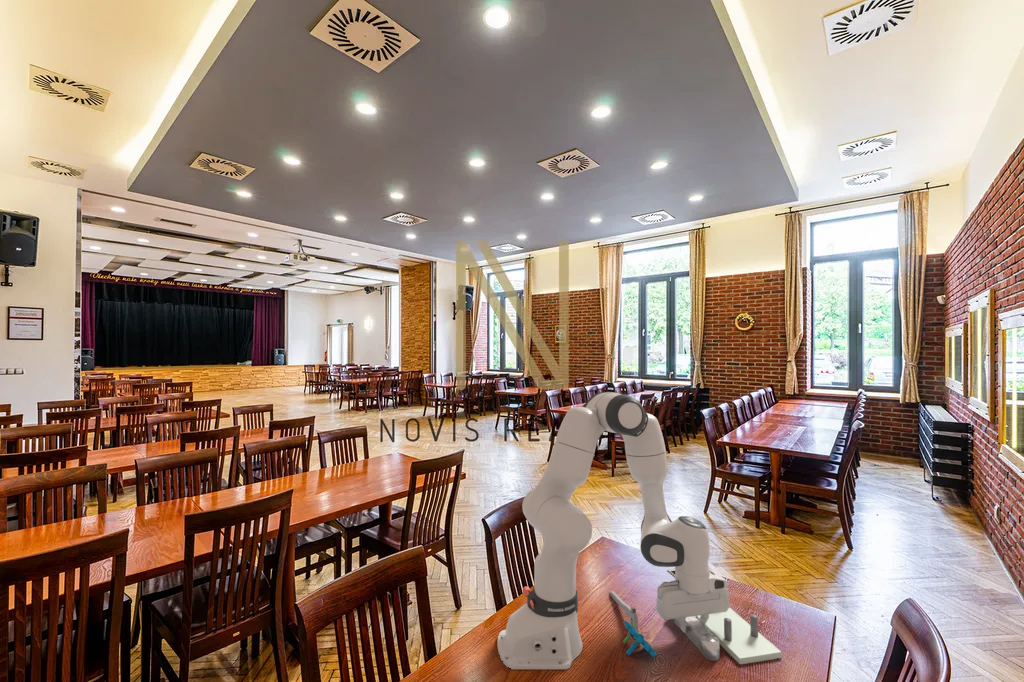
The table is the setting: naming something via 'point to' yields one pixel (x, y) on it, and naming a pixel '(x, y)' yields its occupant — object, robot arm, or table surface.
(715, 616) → the board
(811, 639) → the table surface
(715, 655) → the grey dumbbell
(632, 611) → the caliper
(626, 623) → the gear
